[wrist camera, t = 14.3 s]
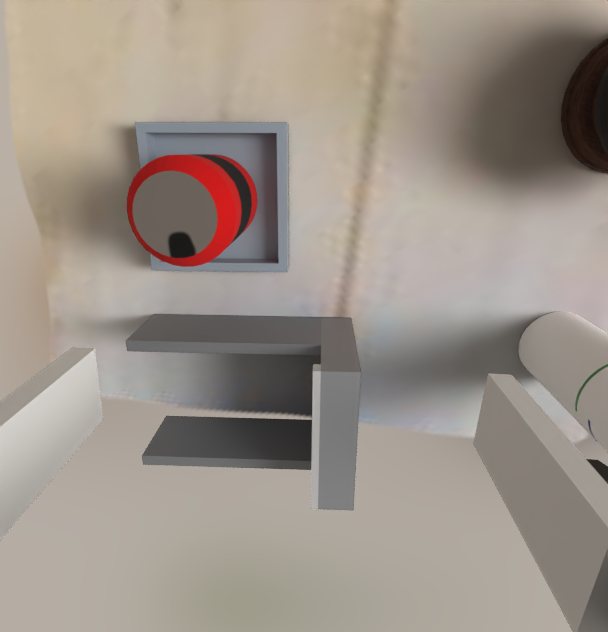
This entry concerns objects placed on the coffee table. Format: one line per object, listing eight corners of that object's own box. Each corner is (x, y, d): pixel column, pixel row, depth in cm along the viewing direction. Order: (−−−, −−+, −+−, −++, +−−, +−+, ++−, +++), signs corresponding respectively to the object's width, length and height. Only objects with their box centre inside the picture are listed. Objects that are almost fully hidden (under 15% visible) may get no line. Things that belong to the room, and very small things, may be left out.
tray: (146, 124, 39) (134, 121, 37) (288, 124, 39) (286, 122, 36) (161, 264, 43) (151, 270, 41) (289, 266, 43) (287, 272, 40)
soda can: (186, 244, 42) (135, 277, 31) (167, 160, 39) (103, 163, 28) (264, 234, 41) (241, 264, 30) (250, 148, 39) (219, 146, 27)
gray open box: (154, 314, 45) (98, 366, 34) (351, 317, 44) (360, 372, 33) (167, 423, 49) (120, 502, 38) (346, 428, 49) (353, 510, 37)
